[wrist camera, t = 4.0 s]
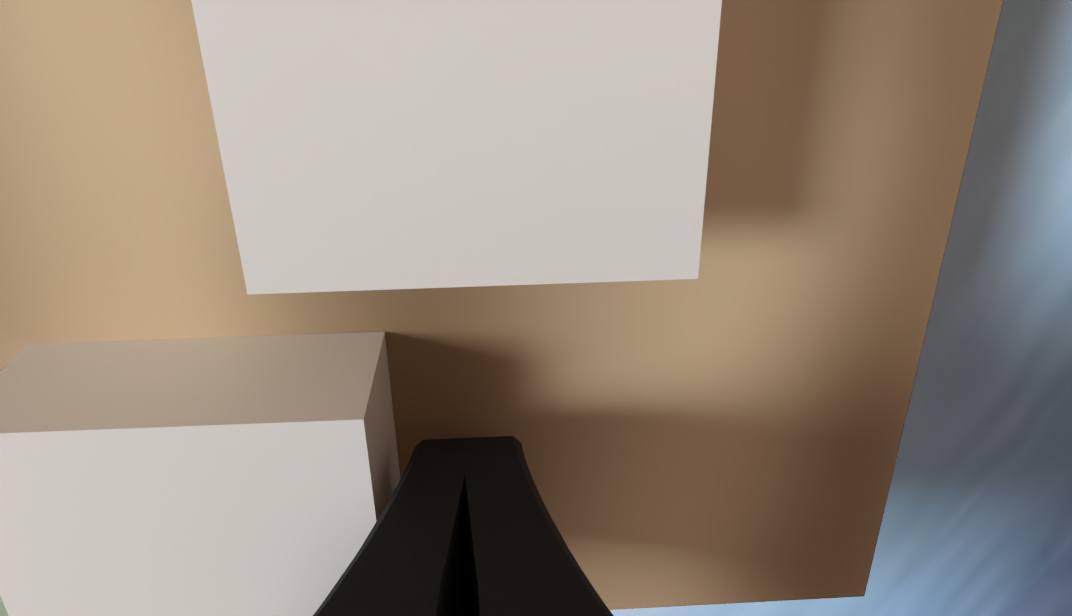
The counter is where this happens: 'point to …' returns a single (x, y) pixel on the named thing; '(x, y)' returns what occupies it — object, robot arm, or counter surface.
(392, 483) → the tile
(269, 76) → the tile
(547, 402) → the board
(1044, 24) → the counter surface
